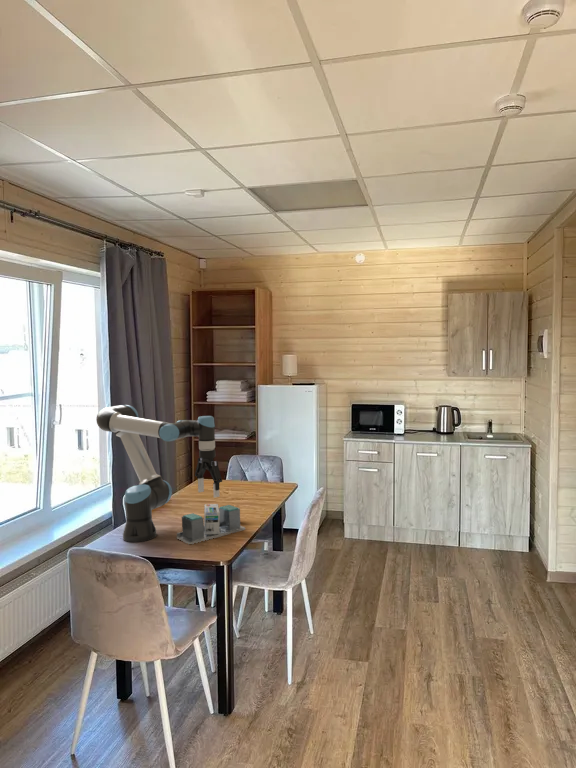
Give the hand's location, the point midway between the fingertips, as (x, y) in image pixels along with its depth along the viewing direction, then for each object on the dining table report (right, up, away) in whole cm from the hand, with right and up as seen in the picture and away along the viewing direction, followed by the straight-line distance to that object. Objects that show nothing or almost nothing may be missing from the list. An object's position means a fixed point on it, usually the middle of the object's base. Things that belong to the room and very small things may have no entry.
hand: (208, 494), depth 260 cm
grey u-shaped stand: (+1, -19, 0) cm, 19 cm away
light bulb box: (+1, -17, 0) cm, 17 cm away
